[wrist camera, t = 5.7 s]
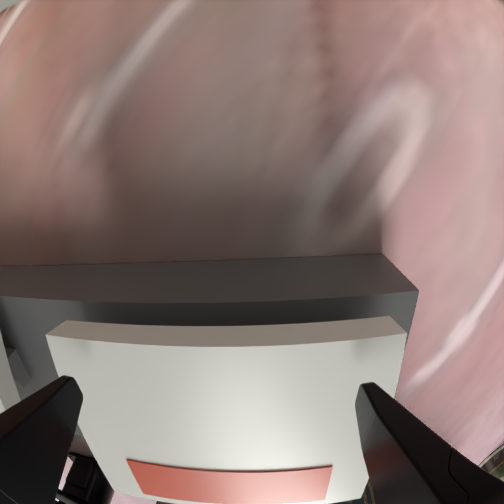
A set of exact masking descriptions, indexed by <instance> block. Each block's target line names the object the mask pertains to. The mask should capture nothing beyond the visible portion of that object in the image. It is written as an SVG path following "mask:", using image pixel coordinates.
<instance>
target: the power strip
mask: <svg viewBox="0 0 504 504" xmlns="http://www.w3.org/2000/svg"><path fill="white" fill-rule="evenodd" d="M418 293H419V290H418V289H417V288H416V287H415V286H414V285H413V284H412V283H411V282H410V281H409V280H408V279H407V278H406V277H405V276H404V275H403V274H402V273H401V272H400V271H399V270H398V269H397V268H396V267H395V266H394V265H393V264H392V263H391V262H390V261H389V260H388V259H387V258H386V257H385V256H384V255H383V254H365V255H342V256H318V257H293V258H267V259H241V260H213V261H183V262H152V263H119V264H83V265H43V266H0V331H1V335H2V340H3V344H4V348H5V352H6V355H7V359H8V363H9V366H10V369H11V373H12V376H13V379H14V381H15V382H16V383H17V384H18V386H19V388H20V393H21V401H22V400H23V399H25V398H27V397H28V396H30V395H31V394H33V393H35V392H36V391H38V390H40V389H41V388H43V387H44V386H46V385H48V384H49V383H51V382H53V381H54V380H56V379H57V378H59V376H58V373H57V370H56V367H55V364H54V361H53V358H52V355H51V352H50V349H49V345H48V342H47V338H46V334H47V333H48V332H50V331H51V330H53V329H54V328H56V327H57V326H59V325H60V324H61V323H63V322H64V321H66V320H70V321H82V322H96V323H111V324H130V325H156V326H253V325H279V324H299V323H315V322H329V321H342V320H353V319H364V318H374V317H383V316H390V317H391V318H392V319H393V320H394V321H395V322H396V323H397V324H398V325H399V326H400V327H401V328H403V329H404V330H405V331H406V332H407V337H406V343H407V339H408V335H409V332H410V328H411V324H412V320H413V316H414V311H415V307H416V302H417V298H418ZM406 343H405V346H406ZM404 350H405V349H404ZM75 435H77V436H80V437H84V436H83V434H82V432H81V430H80V427H79V425H78V423H77V427H76V431H75Z"/></svg>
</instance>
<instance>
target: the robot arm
mask: <svg viewBox="0 0 504 504" xmlns="http://www.w3.org/2000/svg"><path fill="white" fill-rule="evenodd" d="M82 403H83V393H82V391H81V389H80V388H79V386H78V384H77V382H76V380H75V378H73V377H71V376H66V375H63V376H61V377H59V378H57V379H56V380H54V381H53V382H51V383H49V384H48V385H46V386H44V387H43V388H41V389H40V390H38V391H36V392H35V393H33V394H31V395H30V396H28V397H27V398H25V399H23V400H22V401H20V402H18V403H17V404H15V405H13V406H12V407H10V408H9V409H7V410H5V411H4V412H2V413H0V504H110V503H111V500H112V497H113V494H114V490H113V488H112V486H111V485H110V483H109V482H108V480H107V478H106V477H105V475H104V473H103V471H102V470H101V468H100V466H99V464H98V463H97V461H96V460H94V459H90V458H87V457H83V456H80V455H77V454H74V453H71V452H69V451H70V448H71V445H72V442H73V439H74V435H75V431H76V427H77V423H78V419H79V414H80V410H81V406H82ZM355 411H356V417H357V423H358V429H359V436H360V443H361V449H362V453H363V457H364V461H365V465H366V468H367V472H368V476H369V479H370V483H371V487H372V491H373V495H374V499H375V503H376V504H504V481H502V480H500V479H499V478H497V477H495V476H494V475H492V474H490V473H489V472H487V471H485V470H484V469H482V468H480V467H479V466H477V465H476V464H474V463H473V462H471V461H470V460H469V459H467V458H466V457H465V456H463V455H462V454H461V453H459V452H458V451H457V450H456V449H454V448H453V447H451V445H449V444H448V443H447V442H446V441H444V440H443V439H442V438H441V437H440V436H438V435H437V434H436V433H435V432H433V431H432V430H431V429H430V428H429V427H427V426H426V425H425V424H424V423H423V422H421V421H420V420H419V419H418V418H417V417H415V416H414V415H413V414H412V413H410V412H409V411H408V410H407V409H406V408H404V407H403V406H402V405H401V404H400V403H399V402H397V401H396V400H395V399H394V398H393V397H391V396H390V395H389V394H388V393H387V392H385V391H384V390H383V389H382V388H381V387H379V386H378V385H377V384H376V383H374V382H368V383H362V384H360V386H359V389H358V393H357V397H356V400H355ZM67 457H69V458H70V459H71V460H72V461H73V464H72V466H71V468H70V471H69V473H68V475H67V477H66V482H65V485H64V487H63V489H62V491H61V490H60V489H58V487H59V484H60V480H61V477H62V473H63V470H64V467H65V463H66V460H67ZM55 498H57V499H59V502H58V501H56V500H55Z"/></svg>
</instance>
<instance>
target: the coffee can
mask: <svg viewBox="0 0 504 504" xmlns="http://www.w3.org/2000/svg"><path fill="white" fill-rule="evenodd" d="M479 467H480V468H482V469H484V470H485V471H487V472H489V473H490V474H492V475H494V476H495V477H497V478H499V479H500V480H502V481H504V444H503V445H502V446H501V447H499V448H498V449H497V450H495V451H494V452H493V453H492V454H490V455H489V456H488V457H487V458H486V459H485V460H484V461H483V462H482V463H481V464H480V465H479Z"/></svg>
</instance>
